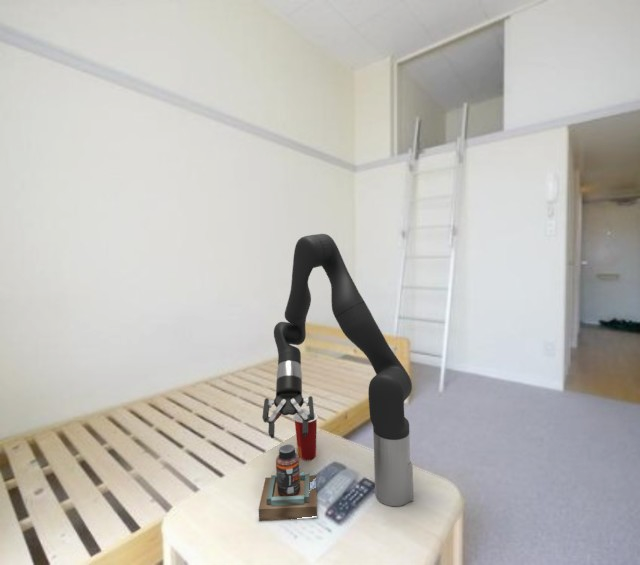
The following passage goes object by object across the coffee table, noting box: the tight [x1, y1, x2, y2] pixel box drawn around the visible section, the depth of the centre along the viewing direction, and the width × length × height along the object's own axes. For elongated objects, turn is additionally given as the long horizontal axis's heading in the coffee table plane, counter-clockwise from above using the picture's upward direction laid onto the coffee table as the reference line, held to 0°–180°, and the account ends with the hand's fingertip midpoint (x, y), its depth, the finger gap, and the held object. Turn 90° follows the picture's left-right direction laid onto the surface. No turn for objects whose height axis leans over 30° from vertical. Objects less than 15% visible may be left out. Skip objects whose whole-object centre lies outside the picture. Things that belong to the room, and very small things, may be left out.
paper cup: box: [293, 408, 319, 461], centre depth 109 cm, size 8×8×14 cm
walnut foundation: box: [258, 471, 318, 522], centre depth 89 cm, size 14×12×4 cm
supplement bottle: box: [275, 444, 301, 496], centre depth 88 cm, size 6×6×11 cm
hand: (288, 436), depth 92 cm, fingers open, 8 cm apart
